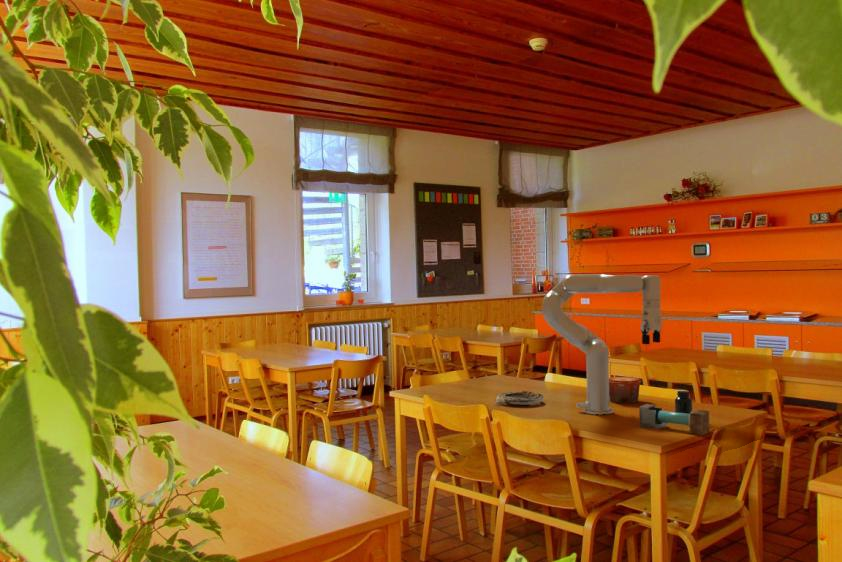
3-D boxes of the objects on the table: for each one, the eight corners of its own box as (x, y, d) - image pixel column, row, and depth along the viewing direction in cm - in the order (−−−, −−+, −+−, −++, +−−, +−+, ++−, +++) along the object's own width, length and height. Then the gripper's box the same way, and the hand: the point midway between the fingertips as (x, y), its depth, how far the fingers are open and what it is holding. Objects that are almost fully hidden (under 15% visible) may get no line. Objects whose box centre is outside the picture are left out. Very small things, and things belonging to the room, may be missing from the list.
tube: (656, 425, 280) (656, 409, 280) (663, 422, 285) (663, 406, 285) (698, 431, 270) (697, 414, 269) (704, 428, 274) (703, 411, 274)
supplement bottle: (695, 421, 292) (695, 392, 291) (679, 422, 291) (679, 392, 291) (688, 418, 298) (687, 389, 298) (672, 418, 298) (671, 390, 298)
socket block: (690, 434, 271) (689, 413, 271) (698, 430, 277) (697, 409, 277) (701, 435, 268) (701, 414, 268) (709, 431, 274) (708, 411, 274)
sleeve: (639, 426, 285) (639, 406, 284) (646, 423, 290) (646, 404, 290) (660, 429, 279) (659, 409, 279) (667, 426, 284) (666, 406, 284)
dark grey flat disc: (531, 396, 357) (531, 387, 357) (562, 407, 332) (562, 396, 332) (481, 402, 346) (481, 392, 346) (510, 413, 321) (510, 402, 321)
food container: (638, 398, 345) (638, 376, 344) (644, 404, 329) (643, 381, 329) (604, 398, 347) (604, 376, 347) (608, 404, 331) (608, 381, 331)
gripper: (650, 304, 300) (650, 345, 301) (668, 303, 312) (668, 342, 313) (633, 304, 305) (633, 344, 306) (652, 302, 318) (652, 341, 318)
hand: (651, 343), depth 309 cm, fingers open, 9 cm apart
